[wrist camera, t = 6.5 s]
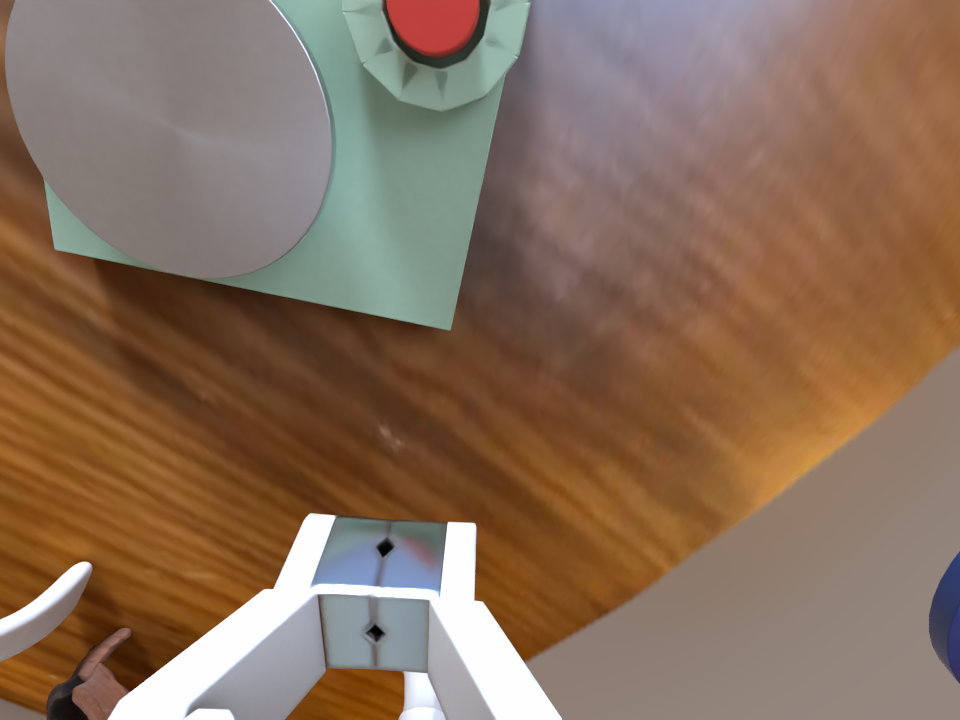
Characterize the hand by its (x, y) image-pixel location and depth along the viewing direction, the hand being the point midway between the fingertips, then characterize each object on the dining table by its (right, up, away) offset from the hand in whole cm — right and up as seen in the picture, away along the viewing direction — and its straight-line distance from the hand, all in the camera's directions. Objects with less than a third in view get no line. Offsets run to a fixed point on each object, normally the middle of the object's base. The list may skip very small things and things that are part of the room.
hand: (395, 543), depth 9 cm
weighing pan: (-8, +11, +8) cm, 16 cm away
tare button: (0, +14, +6) cm, 15 cm away
